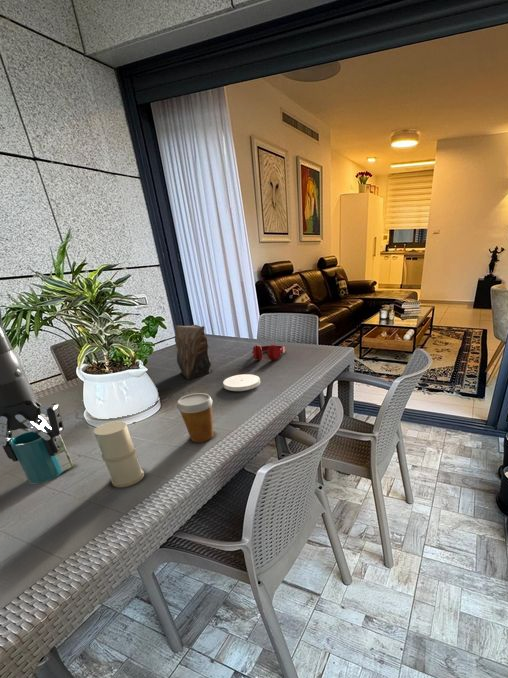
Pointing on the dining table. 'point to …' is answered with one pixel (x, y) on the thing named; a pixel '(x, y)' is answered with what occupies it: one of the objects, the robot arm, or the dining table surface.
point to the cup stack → (119, 453)
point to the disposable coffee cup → (197, 416)
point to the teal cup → (35, 458)
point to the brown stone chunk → (192, 351)
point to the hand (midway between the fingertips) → (36, 456)
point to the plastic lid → (241, 382)
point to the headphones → (268, 351)
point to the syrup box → (62, 453)
